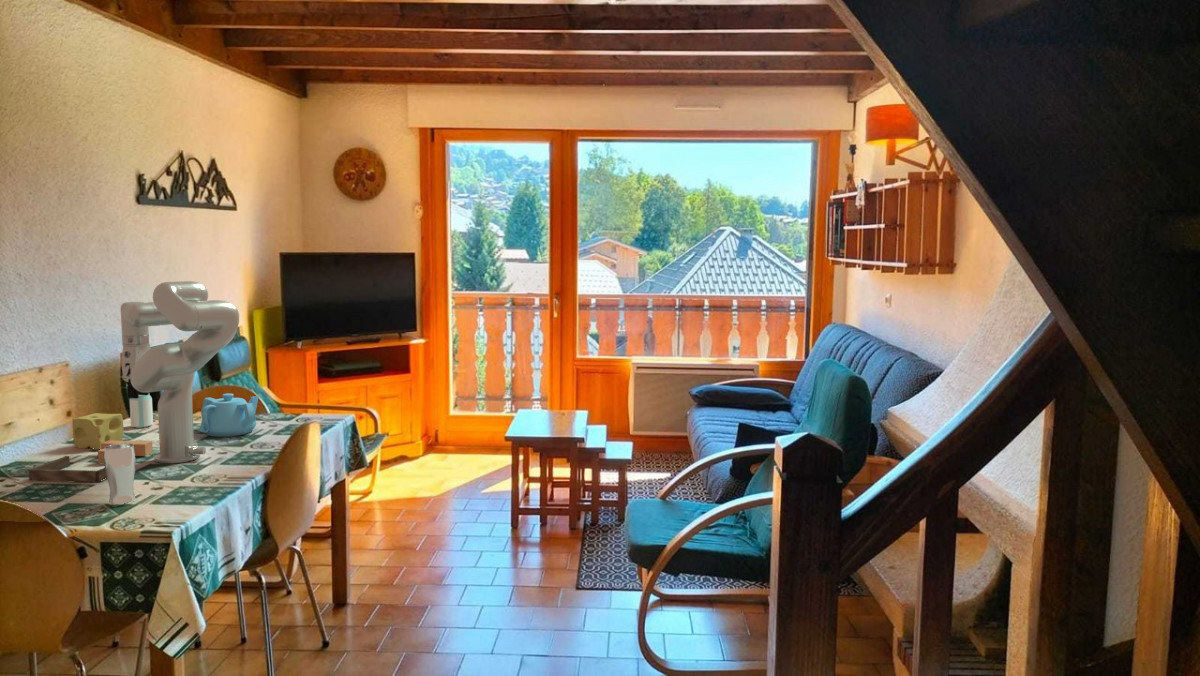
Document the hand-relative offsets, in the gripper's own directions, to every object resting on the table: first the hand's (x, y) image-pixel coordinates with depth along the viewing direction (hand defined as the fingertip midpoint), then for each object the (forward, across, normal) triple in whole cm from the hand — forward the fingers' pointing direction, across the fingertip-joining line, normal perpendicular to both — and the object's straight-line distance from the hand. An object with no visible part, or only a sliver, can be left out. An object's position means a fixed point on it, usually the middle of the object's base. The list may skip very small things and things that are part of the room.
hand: (138, 395), depth 265 cm
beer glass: (+18, -54, -27) cm, 63 cm away
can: (+18, +31, +18) cm, 40 cm away
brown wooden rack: (+17, -29, 0) cm, 34 cm away
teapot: (+18, +26, -17) cm, 36 cm away
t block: (+17, -12, 0) cm, 21 cm away
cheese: (+18, +3, +16) cm, 24 cm away
